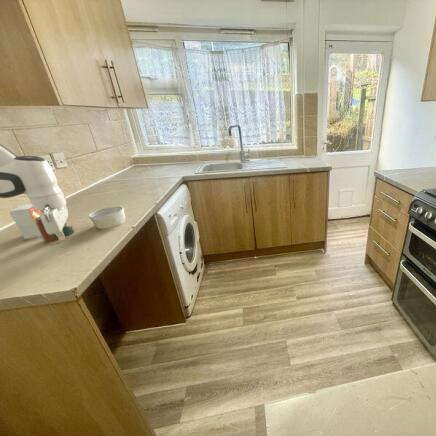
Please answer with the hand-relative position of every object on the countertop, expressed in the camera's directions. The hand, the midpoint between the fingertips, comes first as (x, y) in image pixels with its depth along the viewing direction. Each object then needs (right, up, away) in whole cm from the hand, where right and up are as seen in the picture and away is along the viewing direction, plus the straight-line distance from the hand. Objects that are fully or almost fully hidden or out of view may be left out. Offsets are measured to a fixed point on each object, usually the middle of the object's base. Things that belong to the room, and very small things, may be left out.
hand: (64, 235), depth 94 cm
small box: (-24, -1, +13) cm, 27 cm away
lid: (0, +2, -1) cm, 2 cm away
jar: (-11, -3, +8) cm, 14 cm away
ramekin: (+3, +3, +21) cm, 21 cm away
